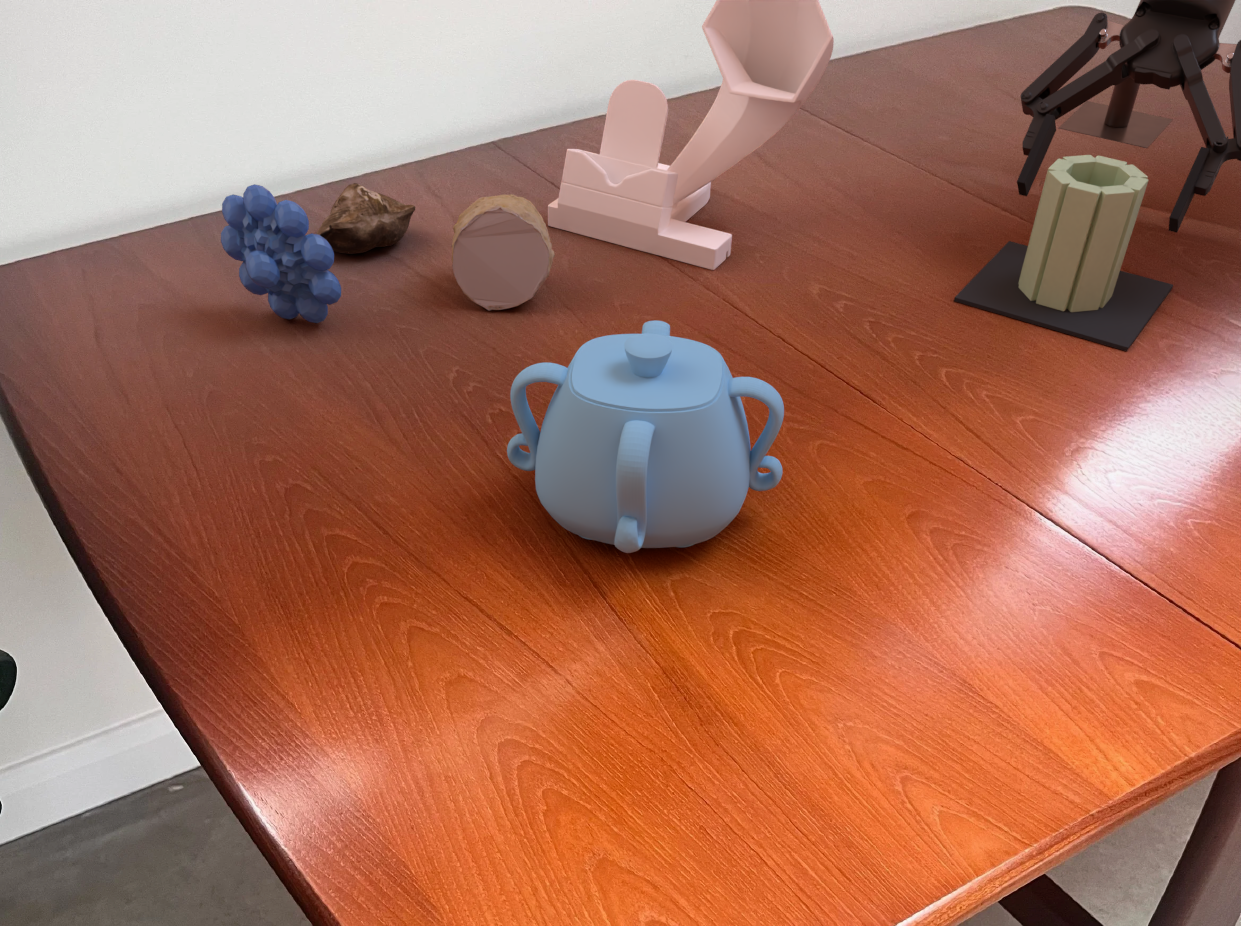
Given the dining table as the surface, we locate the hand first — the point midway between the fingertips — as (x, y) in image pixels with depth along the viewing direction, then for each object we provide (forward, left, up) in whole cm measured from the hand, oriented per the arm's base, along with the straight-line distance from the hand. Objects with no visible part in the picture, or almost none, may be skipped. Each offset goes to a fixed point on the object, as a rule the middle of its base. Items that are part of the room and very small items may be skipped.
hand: (1095, 207), depth 114 cm
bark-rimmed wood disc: (+43, +30, -8) cm, 54 cm away
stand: (+8, -39, -8) cm, 40 cm away
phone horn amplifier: (+36, +8, -8) cm, 38 cm away
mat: (0, +1, -8) cm, 8 cm away
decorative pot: (+15, +51, -8) cm, 54 cm away
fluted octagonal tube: (0, +1, -8) cm, 8 cm away
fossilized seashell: (+60, +30, -8) cm, 68 cm away
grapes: (+56, +46, -8) cm, 73 cm away
